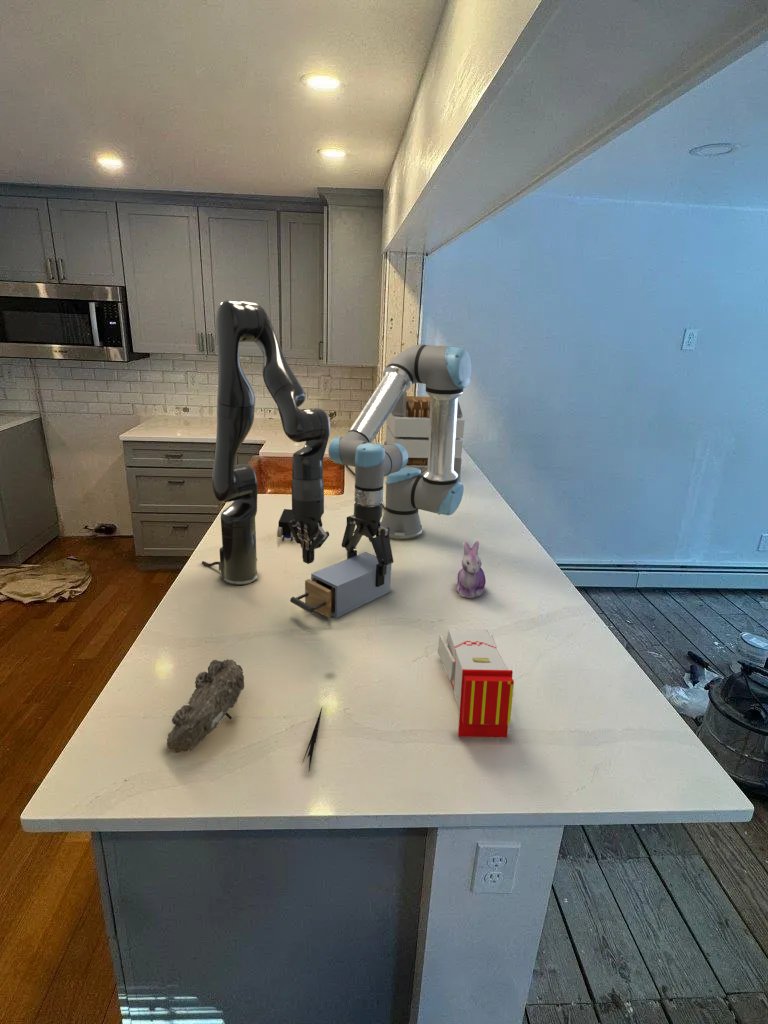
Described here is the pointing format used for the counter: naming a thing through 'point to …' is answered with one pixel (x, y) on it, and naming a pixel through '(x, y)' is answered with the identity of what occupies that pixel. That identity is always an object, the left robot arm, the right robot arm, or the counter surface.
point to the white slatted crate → (418, 430)
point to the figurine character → (285, 525)
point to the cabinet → (353, 582)
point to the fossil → (206, 705)
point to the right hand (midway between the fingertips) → (365, 578)
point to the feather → (313, 740)
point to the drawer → (317, 598)
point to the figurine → (471, 573)
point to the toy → (478, 682)
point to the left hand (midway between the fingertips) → (308, 562)
